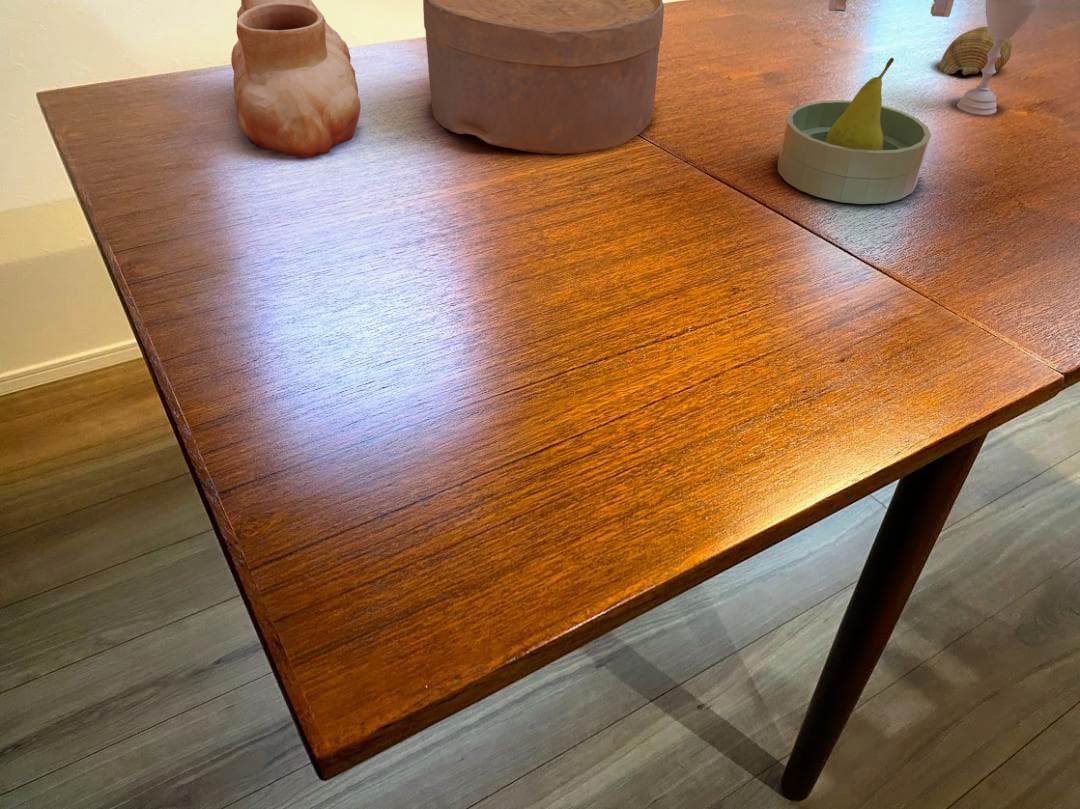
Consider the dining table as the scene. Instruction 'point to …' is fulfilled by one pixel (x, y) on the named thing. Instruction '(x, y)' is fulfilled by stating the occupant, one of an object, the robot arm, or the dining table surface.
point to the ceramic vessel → (292, 79)
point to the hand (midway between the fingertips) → (887, 12)
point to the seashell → (973, 52)
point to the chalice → (996, 49)
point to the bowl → (851, 156)
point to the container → (544, 70)
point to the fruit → (861, 119)
